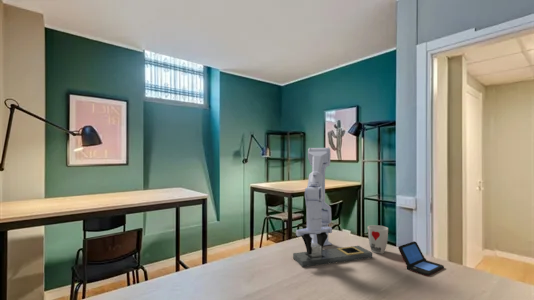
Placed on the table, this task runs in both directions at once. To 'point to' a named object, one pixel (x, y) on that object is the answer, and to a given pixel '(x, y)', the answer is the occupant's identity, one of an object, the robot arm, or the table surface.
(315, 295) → the table surface
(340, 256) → the grey slotted board
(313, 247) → the steel block
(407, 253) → the handheld game console
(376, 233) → the cup
